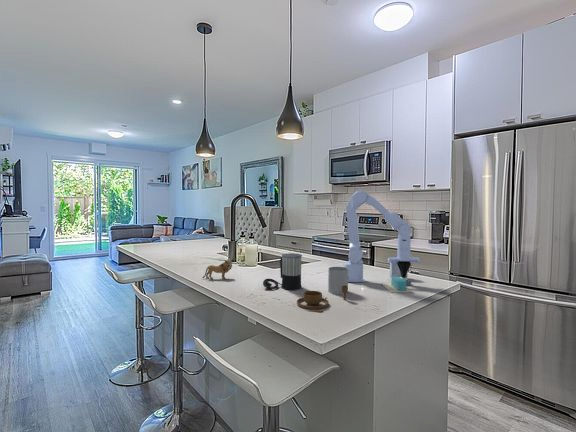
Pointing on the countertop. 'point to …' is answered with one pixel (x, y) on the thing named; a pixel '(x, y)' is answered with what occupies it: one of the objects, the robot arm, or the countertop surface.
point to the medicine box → (394, 270)
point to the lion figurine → (219, 269)
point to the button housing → (408, 282)
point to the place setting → (317, 299)
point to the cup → (337, 279)
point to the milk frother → (288, 272)
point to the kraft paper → (394, 289)
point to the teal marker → (398, 283)
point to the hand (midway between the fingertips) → (403, 277)
